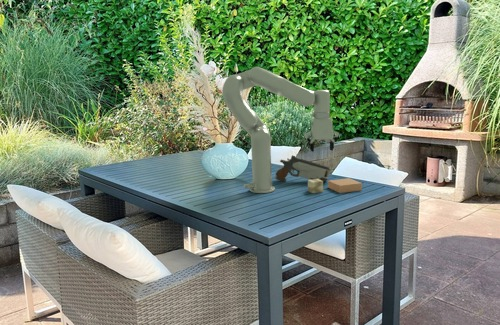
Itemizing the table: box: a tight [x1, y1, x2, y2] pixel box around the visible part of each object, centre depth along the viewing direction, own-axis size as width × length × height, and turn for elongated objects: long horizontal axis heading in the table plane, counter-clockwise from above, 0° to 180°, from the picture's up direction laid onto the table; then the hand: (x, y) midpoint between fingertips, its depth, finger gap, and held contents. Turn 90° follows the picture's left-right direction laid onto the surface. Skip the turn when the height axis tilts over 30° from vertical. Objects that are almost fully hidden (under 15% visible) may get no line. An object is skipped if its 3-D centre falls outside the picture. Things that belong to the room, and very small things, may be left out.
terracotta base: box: [327, 177, 363, 194], centre depth 212 cm, size 12×12×4 cm
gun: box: [274, 155, 331, 183], centre depth 230 cm, size 5×27×15 cm, turn 79°
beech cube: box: [307, 179, 324, 194], centre depth 209 cm, size 6×6×6 cm
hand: (321, 150), depth 210 cm, fingers open, 9 cm apart
